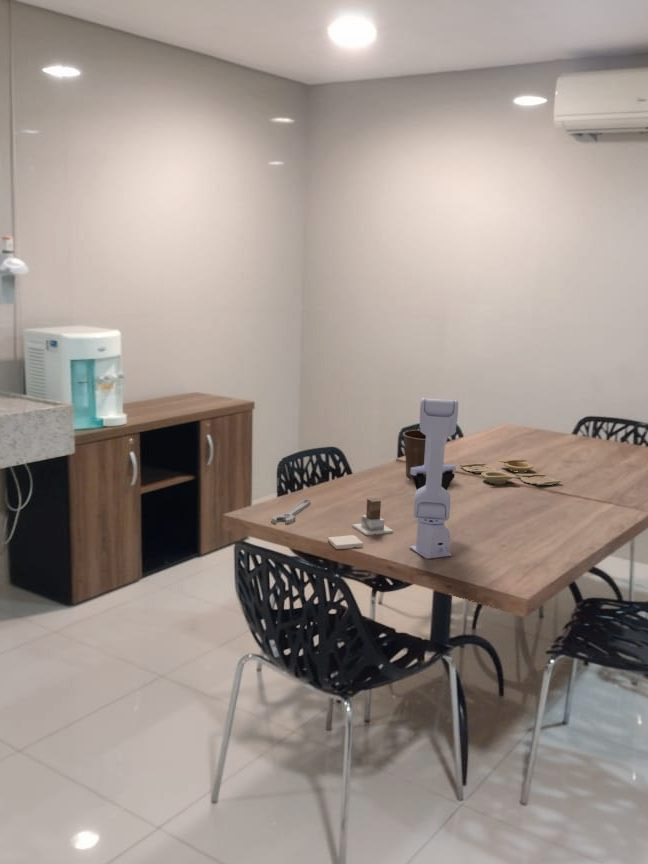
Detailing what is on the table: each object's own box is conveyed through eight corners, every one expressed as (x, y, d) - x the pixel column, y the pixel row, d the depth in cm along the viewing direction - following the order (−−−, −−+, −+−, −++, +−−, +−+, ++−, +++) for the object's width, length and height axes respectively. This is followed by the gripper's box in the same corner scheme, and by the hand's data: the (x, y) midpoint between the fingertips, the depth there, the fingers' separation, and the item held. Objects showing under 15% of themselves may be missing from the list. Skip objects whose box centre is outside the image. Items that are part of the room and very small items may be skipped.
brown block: (383, 529, 247) (385, 502, 246) (370, 531, 245) (372, 503, 244) (374, 523, 253) (375, 496, 251) (361, 525, 251) (362, 497, 249)
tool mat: (393, 532, 247) (393, 530, 247) (366, 535, 243) (366, 533, 243) (378, 523, 255) (378, 521, 255) (352, 526, 251) (352, 524, 251)
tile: (363, 542, 233) (336, 545, 231) (363, 548, 234) (336, 550, 231) (354, 535, 240) (327, 537, 237) (353, 540, 240) (327, 542, 237)
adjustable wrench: (304, 503, 274) (304, 498, 274) (322, 506, 272) (322, 501, 272) (268, 523, 252) (268, 517, 252) (287, 526, 249) (287, 521, 249)
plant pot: (438, 484, 304) (441, 440, 301) (395, 478, 309) (398, 435, 306) (447, 474, 319) (450, 432, 316) (406, 469, 324) (409, 428, 321)
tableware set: (566, 488, 307) (567, 477, 306) (492, 490, 300) (493, 479, 299) (522, 465, 340) (523, 455, 339) (455, 466, 333) (455, 456, 332)
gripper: (448, 447, 252) (444, 491, 255) (406, 450, 246) (403, 495, 249) (461, 453, 246) (457, 497, 249) (418, 456, 240) (415, 501, 243)
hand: (431, 496), depth 248 cm, fingers open, 7 cm apart
